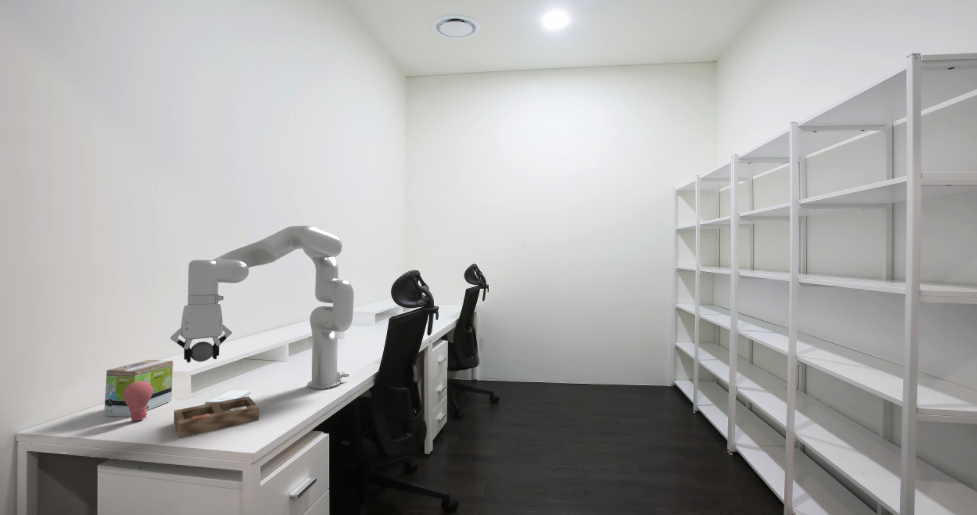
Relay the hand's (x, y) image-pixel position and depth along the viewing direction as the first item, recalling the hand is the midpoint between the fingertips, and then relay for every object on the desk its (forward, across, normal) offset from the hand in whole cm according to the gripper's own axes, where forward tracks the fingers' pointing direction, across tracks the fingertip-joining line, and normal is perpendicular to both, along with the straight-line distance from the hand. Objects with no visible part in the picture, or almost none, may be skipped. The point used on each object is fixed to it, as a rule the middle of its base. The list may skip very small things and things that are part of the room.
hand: (201, 359), depth 123 cm
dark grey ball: (-2, 0, 0) cm, 2 cm away
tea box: (+20, +13, -30) cm, 38 cm away
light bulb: (+20, +14, -17) cm, 30 cm away
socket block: (+20, -4, 0) cm, 20 cm away
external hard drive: (+20, -11, -22) cm, 32 cm away
